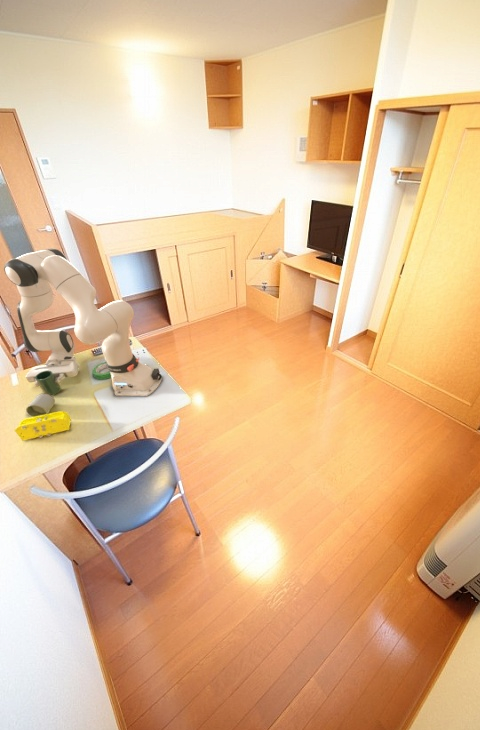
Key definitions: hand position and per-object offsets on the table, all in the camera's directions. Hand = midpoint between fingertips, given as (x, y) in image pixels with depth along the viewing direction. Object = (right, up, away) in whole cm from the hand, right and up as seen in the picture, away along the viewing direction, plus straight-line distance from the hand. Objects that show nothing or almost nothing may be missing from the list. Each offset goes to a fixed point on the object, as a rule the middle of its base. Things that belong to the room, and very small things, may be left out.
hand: (47, 383), depth 129 cm
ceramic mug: (+1, -12, -5) cm, 13 cm away
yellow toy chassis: (+10, -18, -13) cm, 24 cm away
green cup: (0, -4, +4) cm, 5 cm away
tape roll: (+17, +4, +16) cm, 24 cm away
